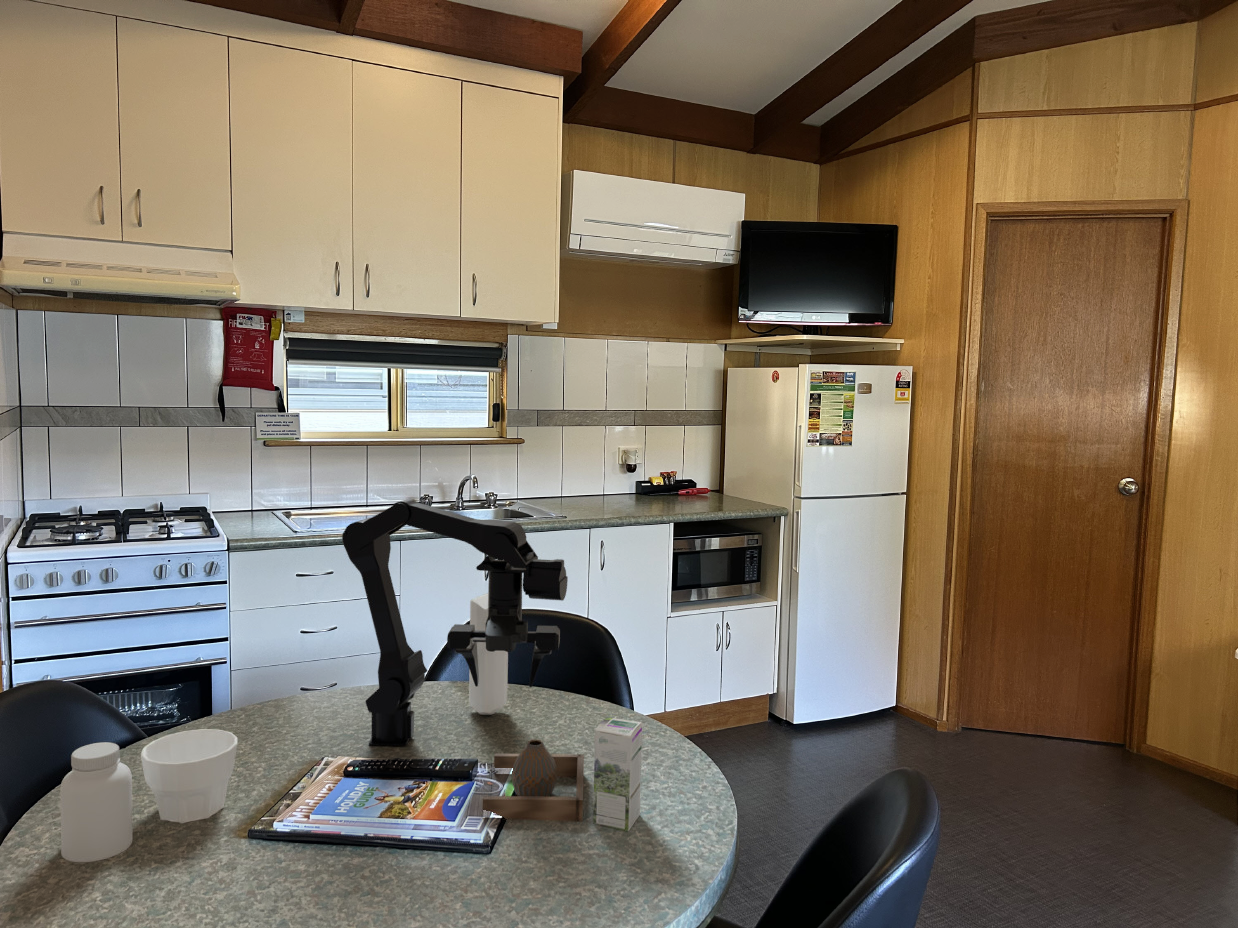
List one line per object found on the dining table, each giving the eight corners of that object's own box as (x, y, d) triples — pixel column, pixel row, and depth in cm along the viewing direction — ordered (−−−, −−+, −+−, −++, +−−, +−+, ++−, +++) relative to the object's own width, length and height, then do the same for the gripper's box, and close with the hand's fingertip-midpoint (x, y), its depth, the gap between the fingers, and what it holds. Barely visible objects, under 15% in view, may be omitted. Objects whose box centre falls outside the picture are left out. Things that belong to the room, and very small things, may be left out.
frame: (482, 822, 125) (482, 798, 125) (494, 774, 141) (494, 753, 141) (582, 823, 126) (582, 800, 125) (583, 775, 142) (583, 754, 141)
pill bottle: (82, 885, 107) (79, 767, 106) (49, 865, 111) (46, 752, 110) (145, 856, 114) (143, 746, 113) (112, 839, 118) (110, 732, 117)
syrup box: (641, 814, 129) (643, 720, 128) (628, 833, 123) (631, 734, 122) (605, 807, 131) (607, 714, 129) (591, 825, 125) (593, 728, 124)
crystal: (463, 722, 163) (465, 597, 161) (469, 709, 170) (471, 588, 168) (503, 723, 163) (505, 598, 161) (507, 709, 170) (509, 589, 168)
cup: (183, 795, 131) (182, 724, 130) (256, 805, 129) (256, 733, 128) (120, 835, 119) (119, 758, 118) (200, 847, 116) (199, 768, 116)
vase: (554, 808, 130) (555, 752, 129) (508, 807, 130) (509, 750, 129) (558, 787, 137) (559, 734, 136) (514, 786, 137) (515, 732, 136)
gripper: (441, 607, 139) (441, 702, 140) (558, 609, 139) (556, 703, 141) (452, 591, 150) (452, 679, 151) (560, 593, 150) (558, 680, 152)
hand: (503, 686), depth 148 cm, fingers open, 9 cm apart
